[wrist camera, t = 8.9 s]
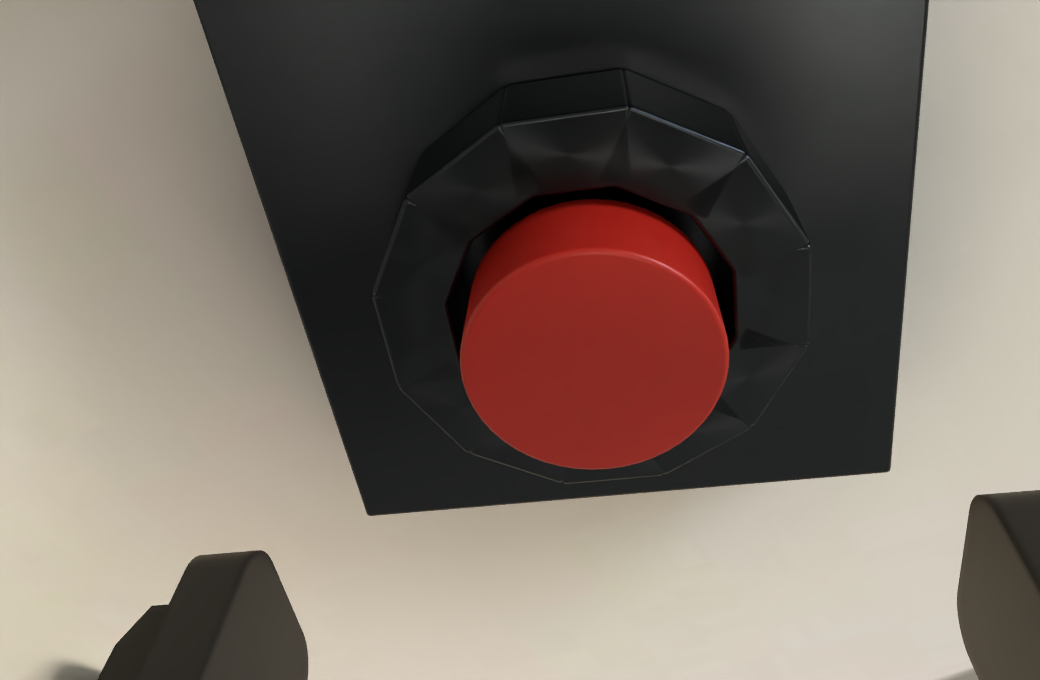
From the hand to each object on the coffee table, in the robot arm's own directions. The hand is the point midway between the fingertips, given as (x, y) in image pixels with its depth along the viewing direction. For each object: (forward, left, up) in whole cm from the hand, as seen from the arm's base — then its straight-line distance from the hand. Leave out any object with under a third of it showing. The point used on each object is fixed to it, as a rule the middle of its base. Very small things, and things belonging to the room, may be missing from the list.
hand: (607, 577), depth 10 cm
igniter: (0, 0, -9) cm, 9 cm away
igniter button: (0, 0, -6) cm, 6 cm away
